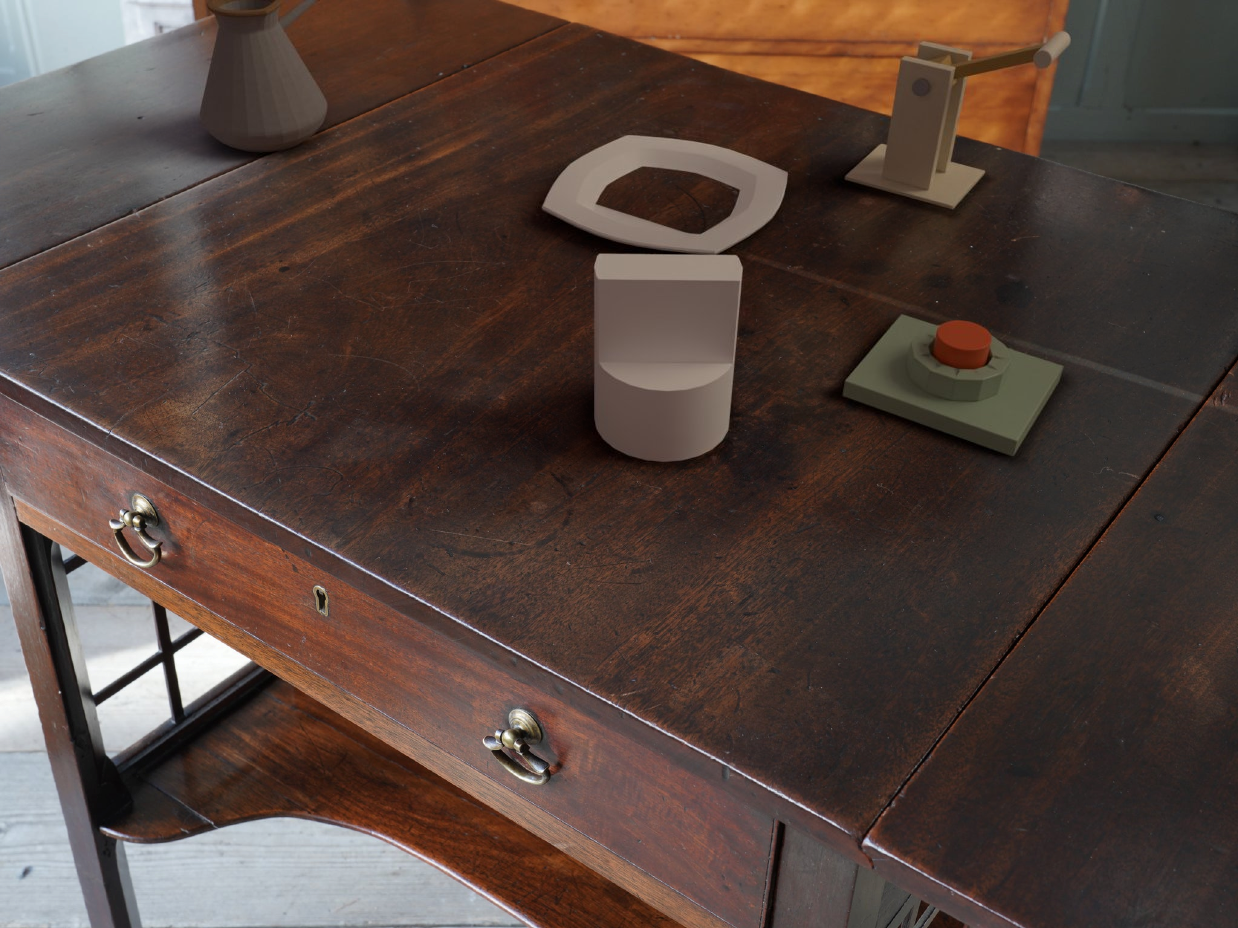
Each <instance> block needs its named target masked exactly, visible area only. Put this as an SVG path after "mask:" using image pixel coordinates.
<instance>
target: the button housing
mask: <svg viewBox="0 0 1238 928" xmlns="http://www.w3.org/2000/svg"><path fill="white" fill-rule="evenodd" d="M940 325H941V324H933V323H931V322H927V321H924V320H921V319H917V318H916V317H915V318H914V317H911V316H909V315H905V314H903V313H901V314H900V315H899V317H898V318H897V319H896V320H895V321H894V322H893V323H892V324H891V326H890V327H889V328H888V329H887V331H886V332H885V333H884V334H883V336H881V338H879V340H878V341H877V342H876V344H875V345H874V346H873V347H871V349H870V351H869V352H868V353H867V354H866V355H865V356H864V358H863V359H862V360H861V361H860V362H859V364H858V365H857V366H856V367H855V369H853V371H851V373H850V374H849V376H848V377H847V378H846V379H845V380H844V385H843V390H842V397H845V398H847V399H850V400H853V401H856V402H859V403H862V404H865V405H867V406H870V407H873V408H875V409H879V410H881V411H884V412H887V413H889V414H893V415H895V416H898V417H900V418H904V419H906V420H909V421H912V422H915V423H918V424H920V425H923V426H927V427H929V428H932V429H934V430H937V431H940V432H942V433H945V434H949V435H951V436H954V437H956V438H959V439H962V440H966V441H968V442H971V443H974V444H976V445H980V446H982V447H985V448H988V449H991V450H993V451H995V452H998V453H1002V454H1005V455H1007V456H1010V457H1014V456H1015V455H1016V453H1017V451H1018V450H1019V448H1020V446H1021V445H1022V443H1023V442H1024V440H1025V438H1026V436H1028V433H1029V431H1030V430H1031V428H1032V427H1033V425H1034V423H1035V422H1036V420H1037V418H1038V417H1039V416H1040V414H1041V412H1042V411H1043V409H1044V407H1045V406H1046V404H1047V402H1048V400H1049V399H1050V397H1051V396H1052V394H1053V393H1054V390H1055V389H1056V387H1057V386H1058V384H1059V383H1060V380H1061V377H1062V374H1063V370H1064V366H1063V365H1062V364H1058V363H1057V362H1056V363H1055V362H1053V361H1049V360H1047V359H1043V358H1040V357H1037V356H1033V355H1030V354H1027V353H1024V352H1021V351H1019V350H1015V349H1012V348H1009V347H1007V346H1006V344H1004V343H1003V342H1002V341H1000V340H999V339H997V338H996V337H995V336H993V335H992V333H990V335H991V338H992V341H991V345H990V349H989V353H988V357H987V361H986V363H985V365H984V366H983V367H981V368H978V369H975V370H971V369H956V368H953V367H950V366H947V365H944V364H941V363H940V362H939V361H938V360H936V359H935V358H934V357H933V353H932V352H933V347H934V342H935V337H936V332H937V329H938V327H939V326H940Z"/></svg>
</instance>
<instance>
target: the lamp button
mask: <svg viewBox="0 0 1238 928" xmlns="http://www.w3.org/2000/svg"><path fill="white" fill-rule="evenodd" d="M939 325H940V326H939V327H938V329H937V332H936V337H935V342H934V347H933V352H932V353H933V357H934V358H935V359H936V360H938V361H939V362H940V363H941V364H944V365H947V366H950V367H953V368H956V369H971V370H975V369H978V368H981V367H983V366H984V365H985V363H986V361H987V357H988V353H989V349H990V345H991V341H992V338H991V335H992V334H991V333H990V331H988V329H986V327H983V326H982V325H980V324H978V323H975V322H972V321H968V320H957V319H955V320H949V321H946V322H944V323H941V324H939ZM990 334H991V335H990Z"/></svg>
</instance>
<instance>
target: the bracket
mask: <svg viewBox="0 0 1238 928" xmlns="http://www.w3.org/2000/svg"><path fill="white" fill-rule="evenodd" d="M947 55H950V57H951V61H952V64H957V63H961V62H965V61H970V60H972V58H973V51H971V50H967V49H962V48H957V47H952V46H949V45H948V46H947V45H944V44H939V43H934V42H931V41H926V40H922V41H921V42H920V43H919V44H918V47H917V53H916V57H912V56H909V55H904V56H903V57H902V58H901V59H900V61H899V69H898V73H897V80H896V87H895V93H894V98H893V104H892V110H891V116H890V124H889V128H888V134H887V142H886V144H884V143H879V144H878V145H877V146H876V147H875V148H874V149H873V150H872V151H871V152H869V154H868V155H867V156H866V157H864V158H863V159H862V160H861V161H860V162H859V163H857V165H856V166H855V167H853V169H851V170H850V171H849V172H848V173H847V174H846V175H845V176H844V180H845V181H849V182H851V183H852V182H853V183H856V184H860V185H863V186H867V187H871V188H875V189H878V190H882V191H885V192H889V193H892V194H896V195H899V196H903V197H908V198H910V199H914V200H917V201H921V202H924V203H929V204H932V205H936V206H939V207H942V208H945V209H949V210H954V209H955V208H956V207H957V206H958V205H959V203H960V202H961V201H962V200H963V199H964V197H965V196H966V195H968V193H969V192H970V191H972V189H973V187H975V186H976V184H978V182H979V181H980V180H981V179H982V178H983V177H984V175H985V173H986V171H985V170H984V169H980V168H977V167H972V166H969V165H966V164H965V165H964V164H961V163H957V162H954V161H952V158H953V157H952V156H953V152H954V147H955V142H956V137H957V131H958V127H959V122H960V118H961V117H960V116H961V112H962V108H963V102H964V96H965V91H966V87H967V82H968V77H969V76H967V77H963V78H958V79H956V84H954V85H953V86H952V83H953V78H954V73H955V67H952V66H948V65H944V64H939V63H935V62H931V61H926V60H930V59H934V58H938V57H943V56H947Z"/></svg>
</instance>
